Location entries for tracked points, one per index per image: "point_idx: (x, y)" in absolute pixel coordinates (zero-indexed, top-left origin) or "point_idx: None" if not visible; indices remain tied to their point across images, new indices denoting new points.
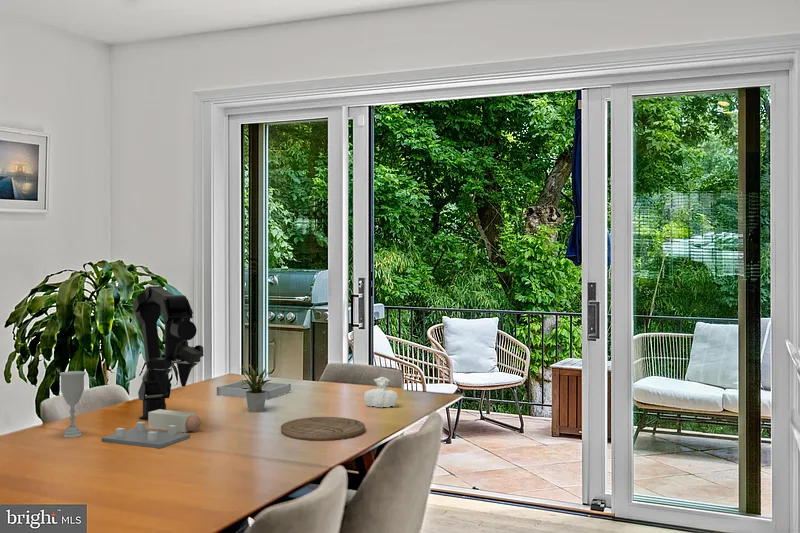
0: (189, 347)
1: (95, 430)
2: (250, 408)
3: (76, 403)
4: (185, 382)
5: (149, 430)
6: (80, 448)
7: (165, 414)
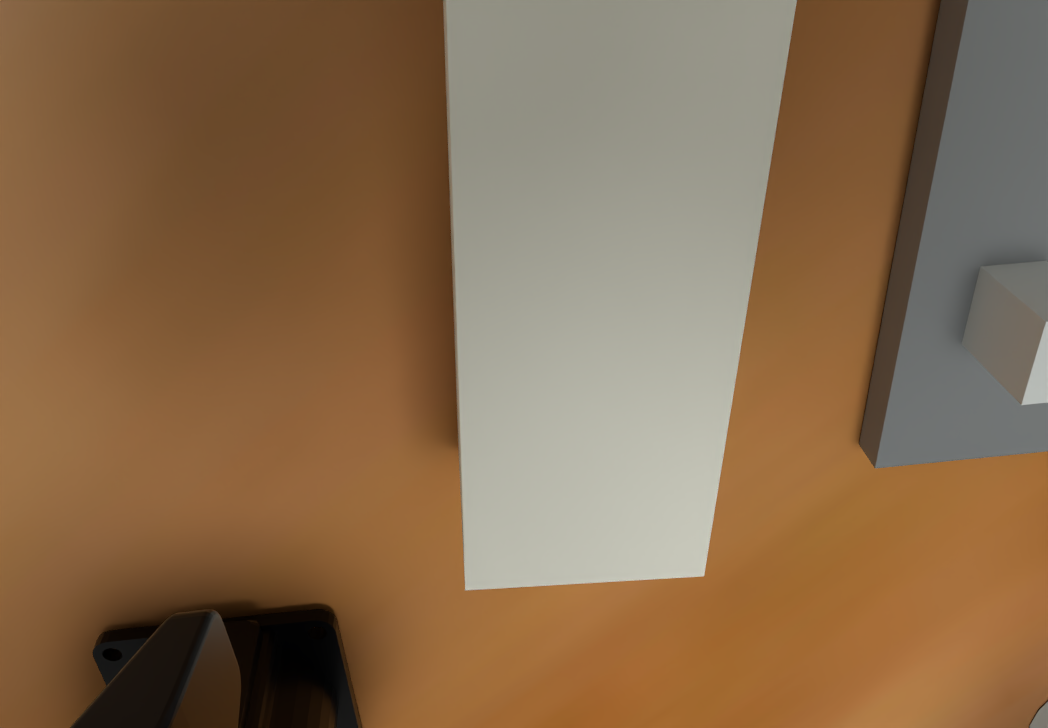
0: None
1: (901, 708)
2: None
3: None
4: (160, 702)
5: (951, 237)
6: None
7: (746, 292)
